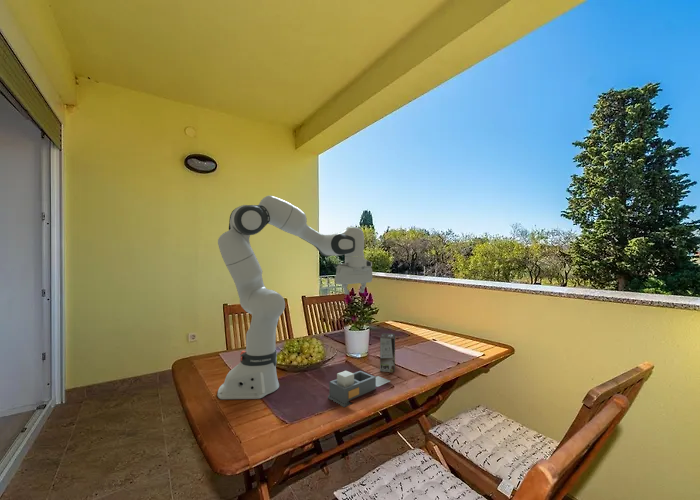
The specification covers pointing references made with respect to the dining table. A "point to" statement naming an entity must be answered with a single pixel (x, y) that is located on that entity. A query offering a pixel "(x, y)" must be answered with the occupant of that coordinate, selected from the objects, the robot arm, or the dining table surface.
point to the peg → (345, 378)
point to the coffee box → (387, 352)
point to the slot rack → (354, 388)
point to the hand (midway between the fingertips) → (354, 293)
